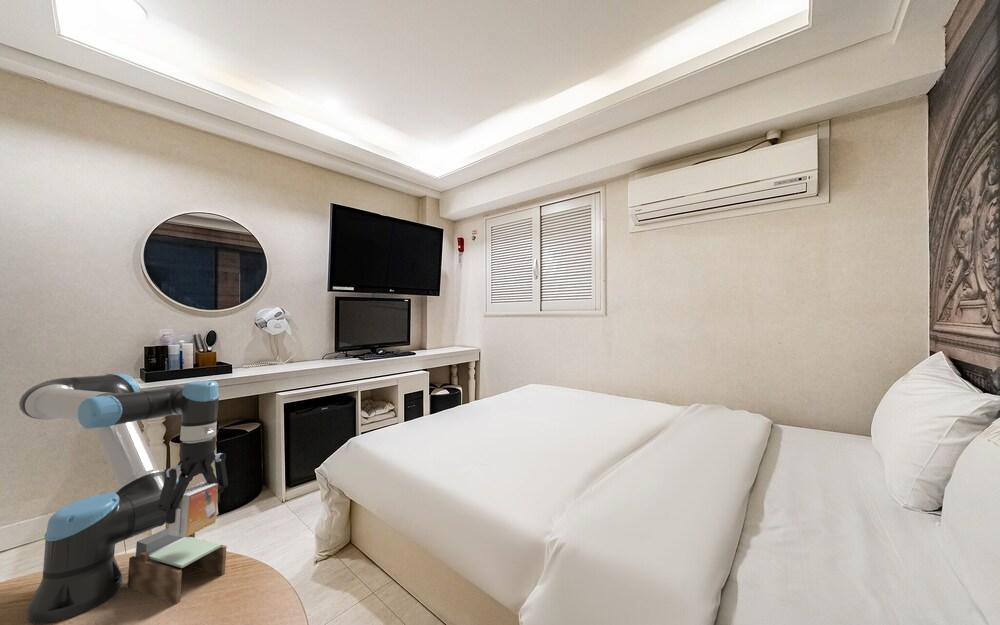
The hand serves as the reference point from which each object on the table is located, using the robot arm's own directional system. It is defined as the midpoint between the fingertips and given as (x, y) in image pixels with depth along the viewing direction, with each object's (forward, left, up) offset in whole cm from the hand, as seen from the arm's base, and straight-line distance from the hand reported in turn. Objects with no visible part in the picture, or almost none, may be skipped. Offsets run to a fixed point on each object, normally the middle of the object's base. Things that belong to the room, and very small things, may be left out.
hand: (193, 525), depth 95 cm
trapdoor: (-5, 0, -10) cm, 11 cm away
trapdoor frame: (-5, 0, -15) cm, 16 cm away
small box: (0, 0, -1) cm, 1 cm away
